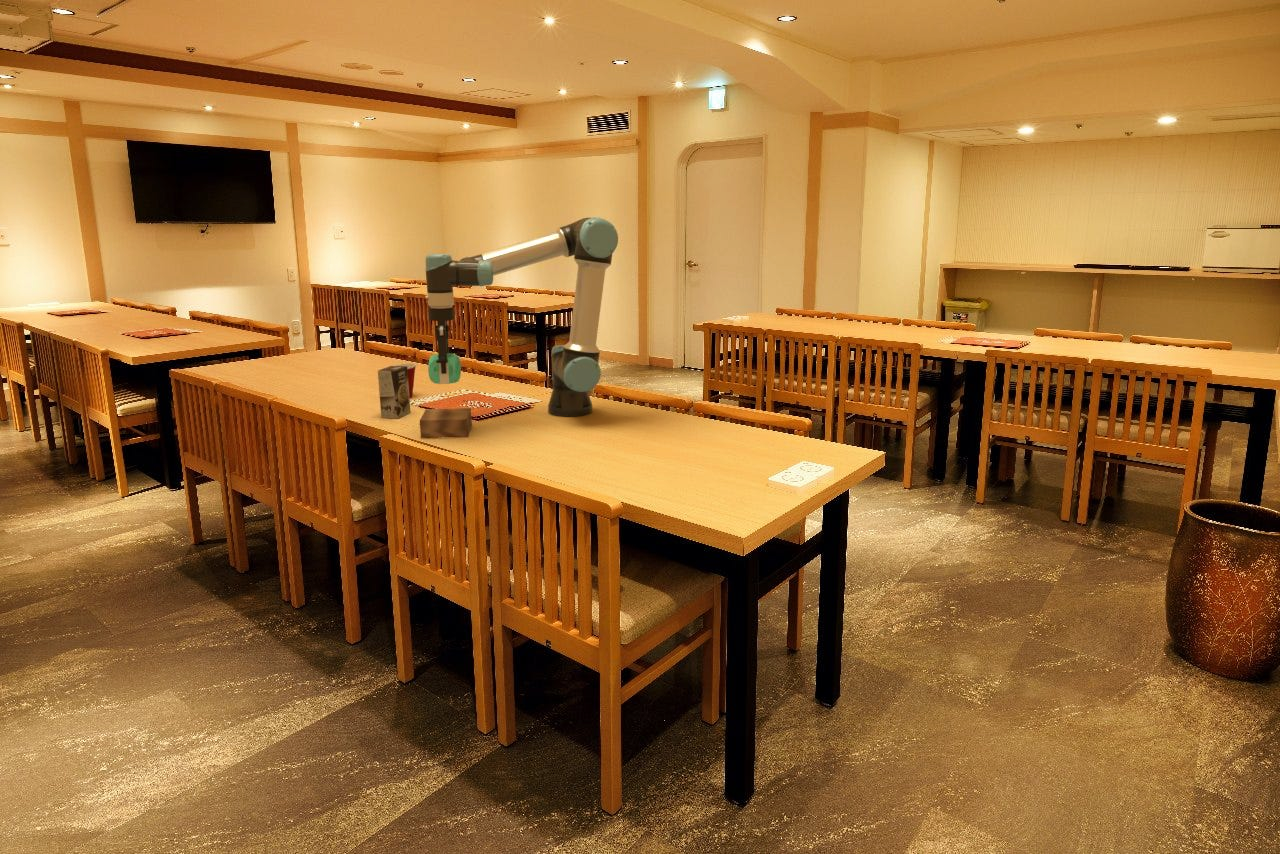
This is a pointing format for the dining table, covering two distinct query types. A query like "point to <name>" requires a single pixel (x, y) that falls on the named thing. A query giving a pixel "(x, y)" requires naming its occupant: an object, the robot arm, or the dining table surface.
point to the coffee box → (394, 391)
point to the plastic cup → (409, 375)
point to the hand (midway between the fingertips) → (445, 380)
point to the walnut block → (445, 423)
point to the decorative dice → (453, 367)
